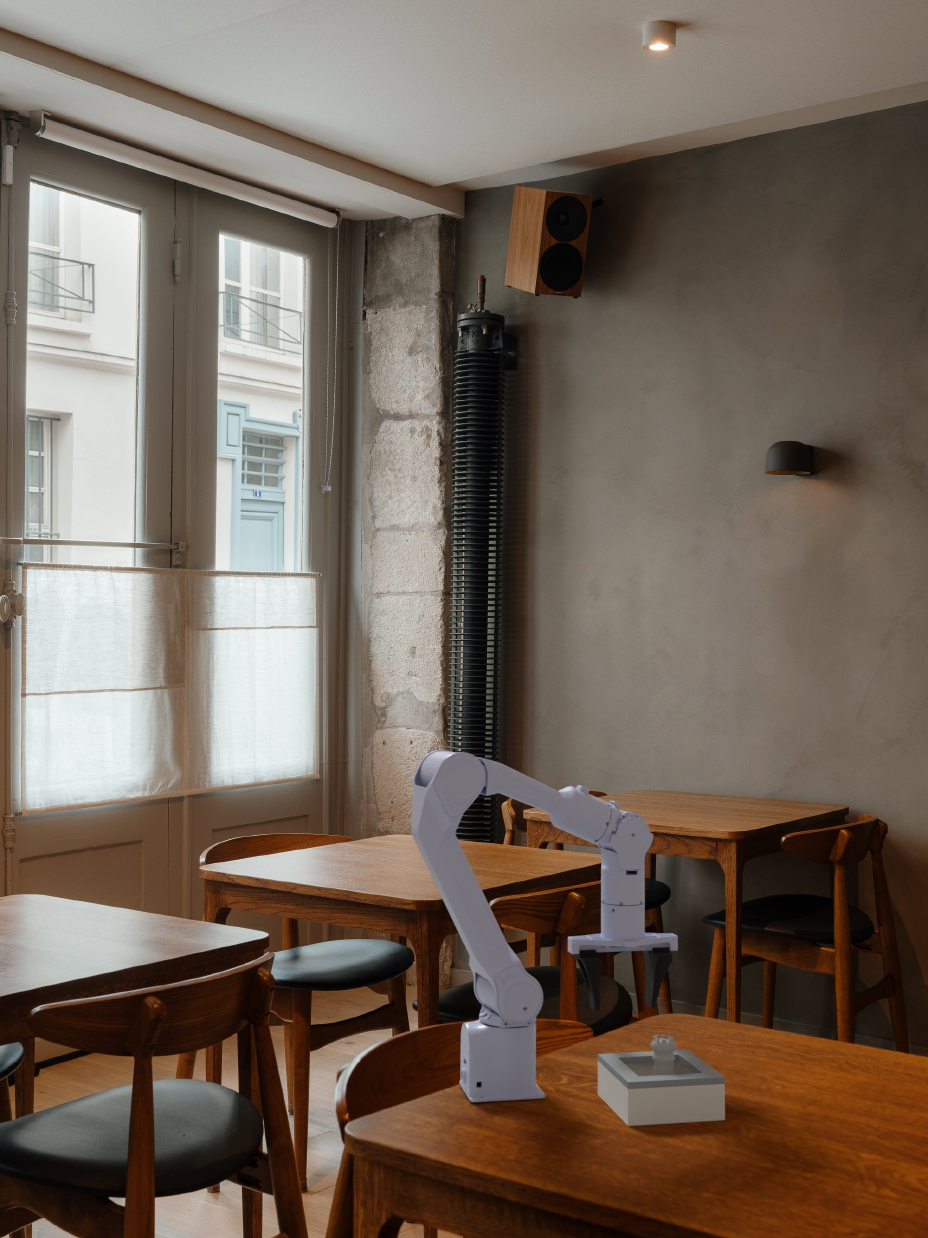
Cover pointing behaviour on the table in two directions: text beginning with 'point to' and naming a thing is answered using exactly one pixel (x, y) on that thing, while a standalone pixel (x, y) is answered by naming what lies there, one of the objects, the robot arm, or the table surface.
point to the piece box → (660, 1089)
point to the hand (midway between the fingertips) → (623, 1007)
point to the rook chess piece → (663, 1055)
